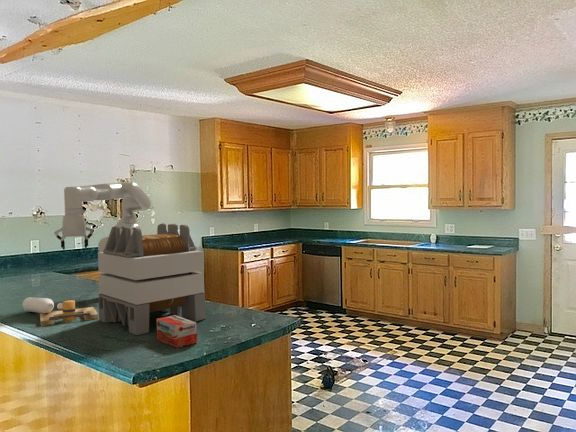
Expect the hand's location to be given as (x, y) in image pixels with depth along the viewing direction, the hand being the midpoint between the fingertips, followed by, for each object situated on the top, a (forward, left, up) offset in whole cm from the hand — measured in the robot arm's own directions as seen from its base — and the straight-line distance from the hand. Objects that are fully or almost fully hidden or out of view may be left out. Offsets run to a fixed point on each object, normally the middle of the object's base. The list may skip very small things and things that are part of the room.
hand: (74, 248), depth 227 cm
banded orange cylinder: (+5, +24, -28) cm, 38 cm away
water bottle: (+19, -3, -25) cm, 32 cm away
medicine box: (-26, +79, -29) cm, 88 cm away
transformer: (-26, +43, -29) cm, 58 cm away
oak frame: (+5, +21, -28) cm, 36 cm away
